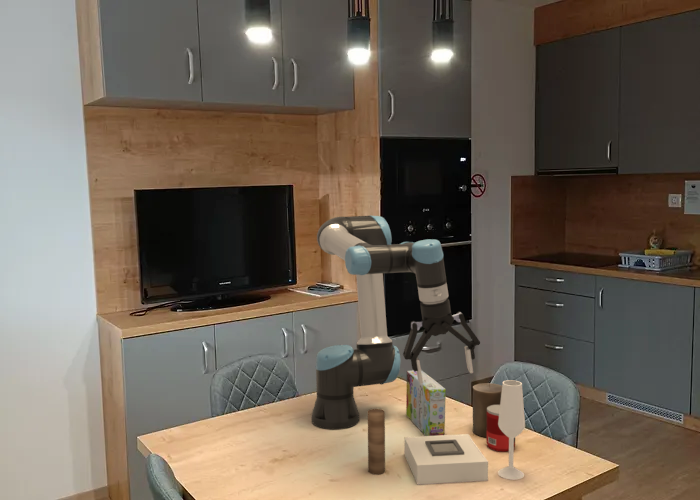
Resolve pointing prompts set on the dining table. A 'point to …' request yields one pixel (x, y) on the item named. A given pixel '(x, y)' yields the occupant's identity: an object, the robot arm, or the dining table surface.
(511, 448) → the champagne flute
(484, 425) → the pillar candle
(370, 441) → the peg
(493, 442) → the canned food
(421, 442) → the socket block
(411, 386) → the snack box
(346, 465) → the dining table surface
